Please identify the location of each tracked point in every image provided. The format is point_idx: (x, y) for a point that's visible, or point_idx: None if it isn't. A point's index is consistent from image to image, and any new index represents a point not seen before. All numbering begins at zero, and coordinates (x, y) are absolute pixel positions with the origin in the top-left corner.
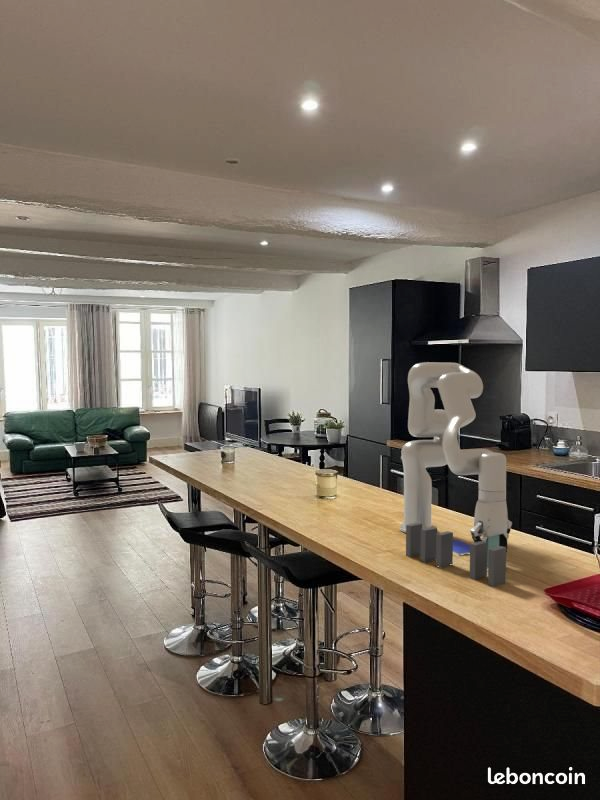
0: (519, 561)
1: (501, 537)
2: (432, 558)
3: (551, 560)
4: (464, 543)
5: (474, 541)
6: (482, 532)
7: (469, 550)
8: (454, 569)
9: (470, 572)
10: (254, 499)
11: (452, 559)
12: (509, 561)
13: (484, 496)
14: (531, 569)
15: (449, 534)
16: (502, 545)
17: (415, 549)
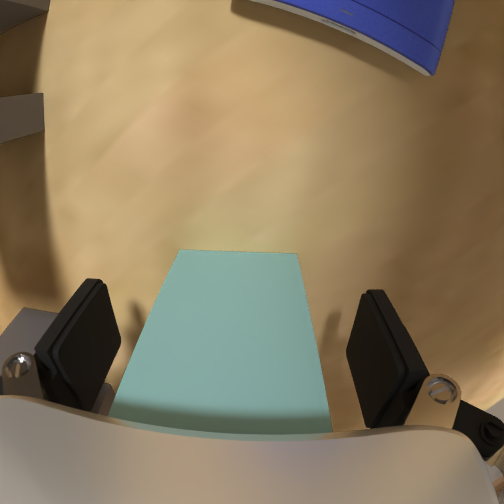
0: (420, 315)
1: (391, 414)
2: (12, 21)
3: (484, 359)
4: None
5: (8, 366)
6: (138, 435)
7: (358, 10)
8: (16, 196)
9: (12, 326)
10: None
11: (22, 136)
12: (390, 290)
13: None
14: (338, 392)
15: None
16: (363, 370)
17: None
